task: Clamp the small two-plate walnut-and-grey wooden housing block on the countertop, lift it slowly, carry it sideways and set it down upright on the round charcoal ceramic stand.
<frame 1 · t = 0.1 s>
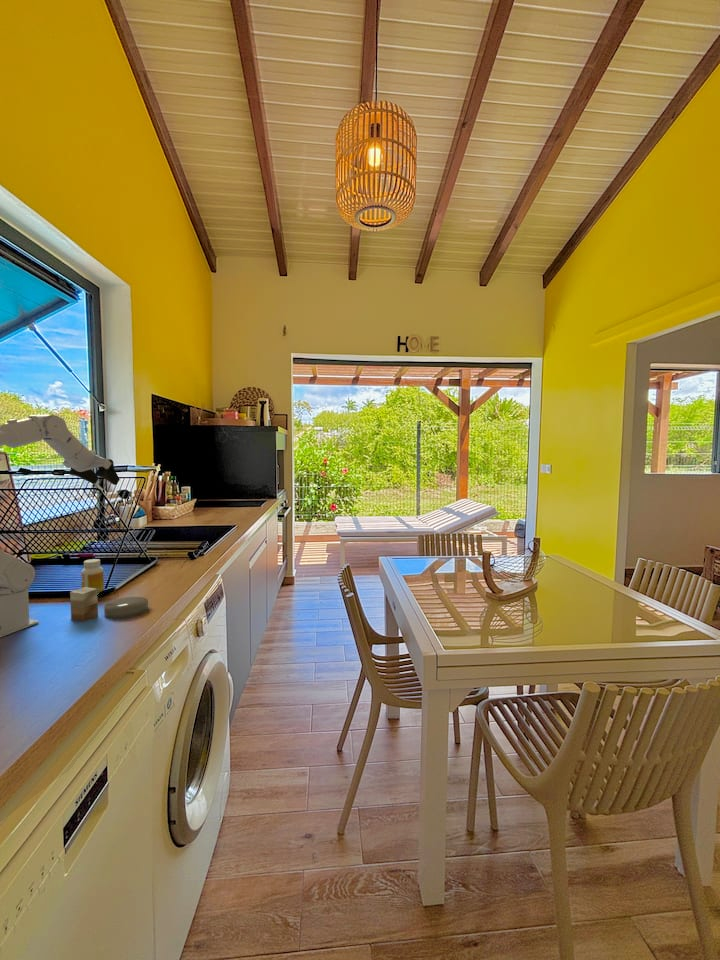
hand: (106, 481, 128), 32 cm above the worktop, tool tilted 50°, fingers open, 7 cm apart
stand: (126, 610, 115), on the worktop
supplement bottle: (93, 594, 127), on the worktop
housing: (84, 618, 110), on the worktop
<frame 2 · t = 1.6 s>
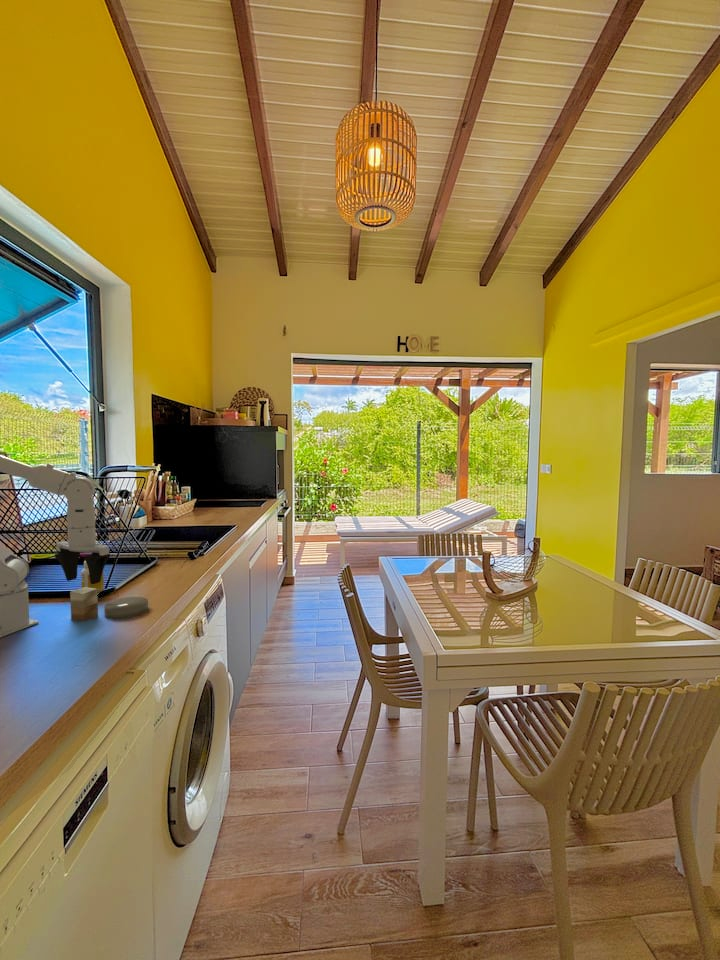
hand: (83, 581, 109), 9 cm above the worktop, tool pointing down, fingers open, 7 cm apart
nothing on the worktop moved.
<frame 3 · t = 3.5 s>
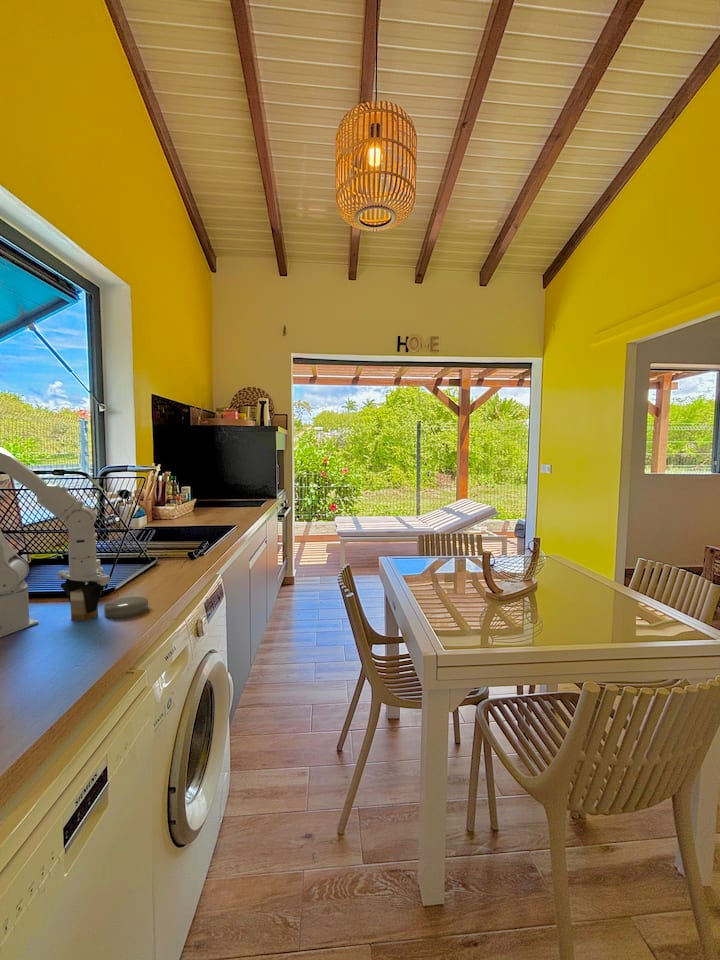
hand: (84, 610, 110), 2 cm above the worktop, tool pointing down, fingers closed on housing, 4 cm apart
housing: (84, 617, 110), on the worktop, touching gripper
everything else where it was.
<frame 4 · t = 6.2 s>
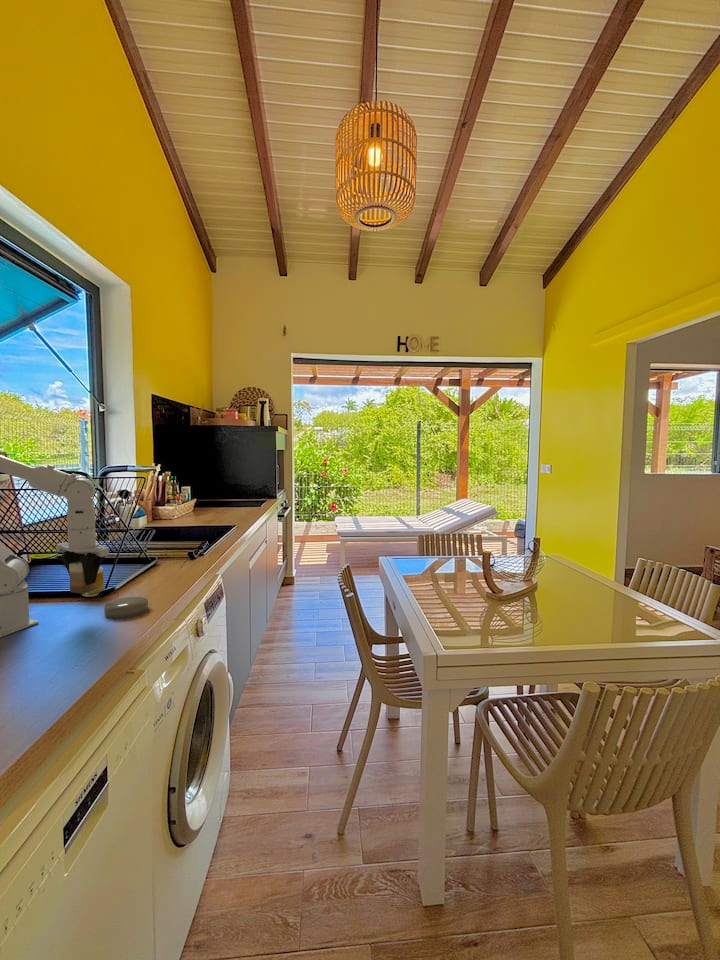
hand: (83, 582, 109), 9 cm above the worktop, tool pointing down, fingers closed on housing, 4 cm apart
housing: (83, 590, 110), point 7 cm above the worktop, touching gripper
everything else where it was.
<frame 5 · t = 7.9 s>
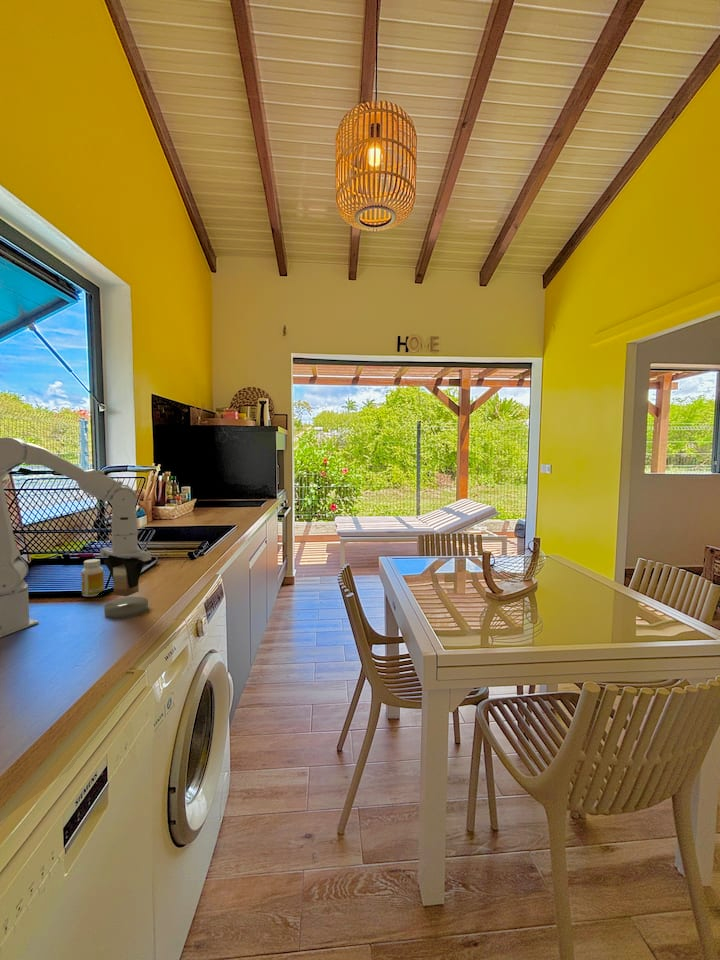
hand: (126, 585, 115), 7 cm above the worktop, tool pointing down, fingers closed on housing, 4 cm apart
housing: (126, 593, 115), point 5 cm above the worktop, touching gripper
everything else where it was.
when the fingers open (5 cm above the worktop, at t = 9.1 s): housing stays where it is, resting on stand.
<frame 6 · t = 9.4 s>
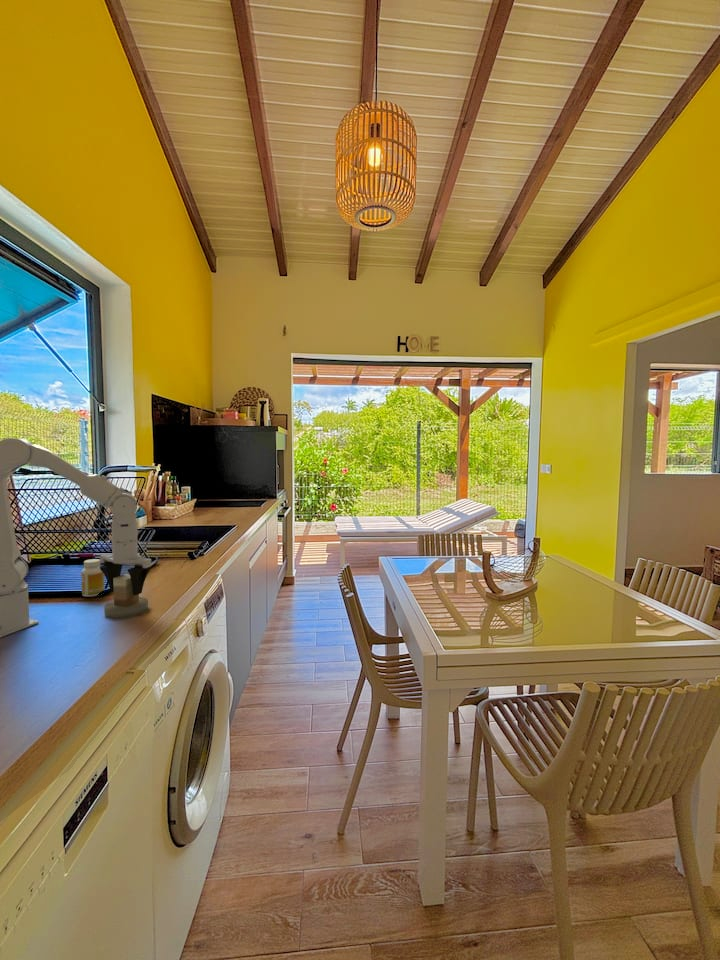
hand: (126, 592, 115), 5 cm above the worktop, tool pointing down, fingers open, 7 cm apart
housing: (126, 603, 115), point 2 cm above the worktop, touching stand
everything else where it was.
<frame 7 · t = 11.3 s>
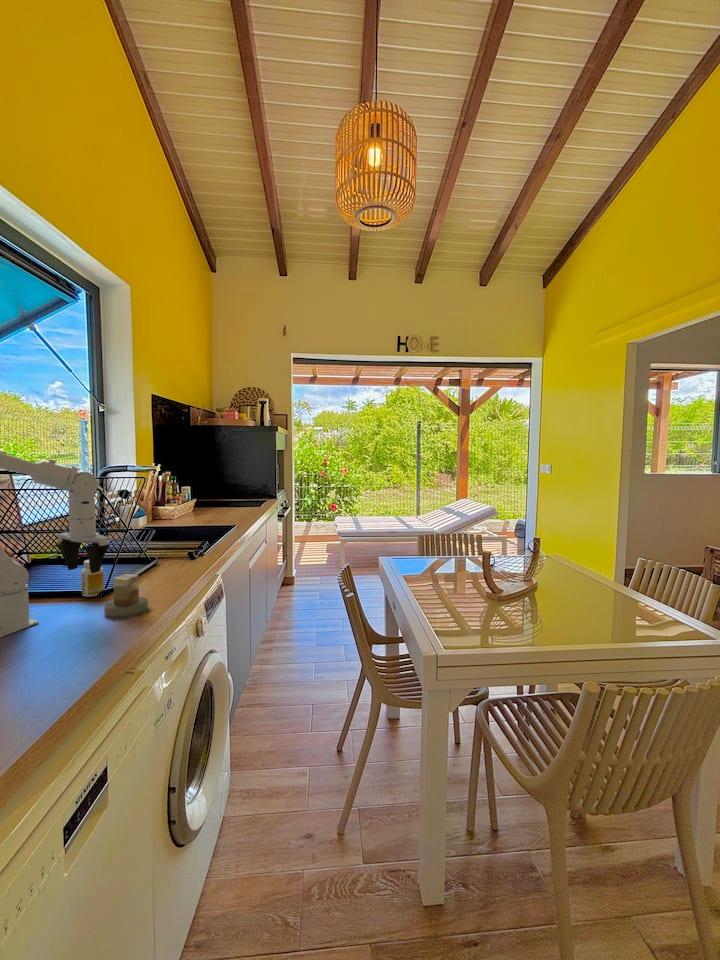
hand: (84, 570, 115), 10 cm above the worktop, tool pointing down, fingers open, 7 cm apart
nothing on the worktop moved.
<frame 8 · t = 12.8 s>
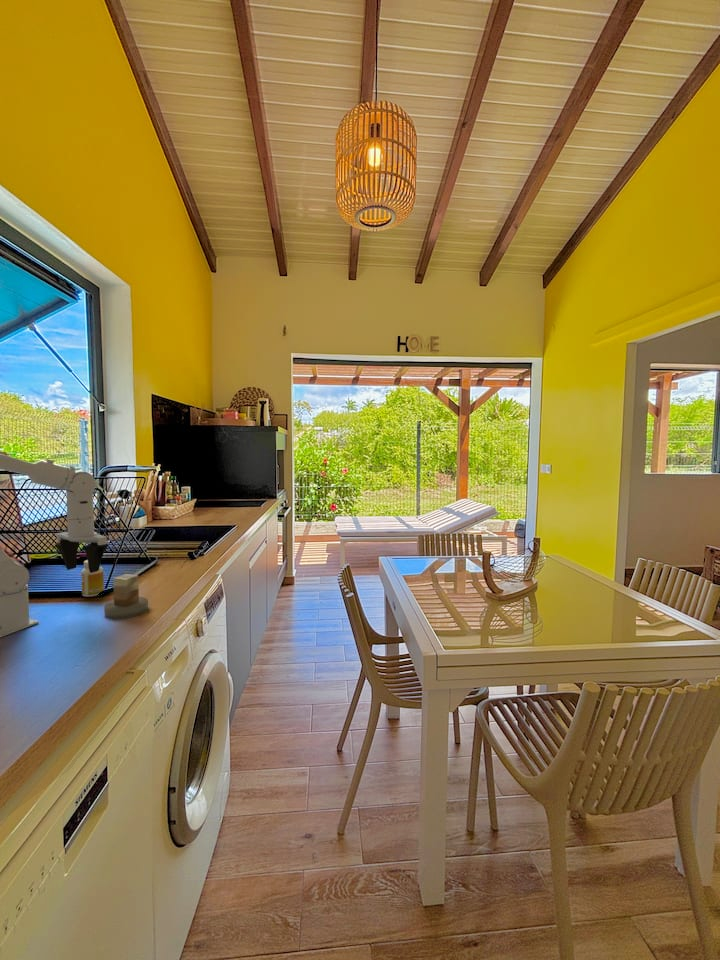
hand: (82, 570, 115), 10 cm above the worktop, tool pointing down, fingers open, 7 cm apart
nothing on the worktop moved.
at the end: housing 0.0 cm off-centre on the stand, point 2.0 cm above the stand's base; housing tilted 0°; the gripper is holding nothing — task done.
